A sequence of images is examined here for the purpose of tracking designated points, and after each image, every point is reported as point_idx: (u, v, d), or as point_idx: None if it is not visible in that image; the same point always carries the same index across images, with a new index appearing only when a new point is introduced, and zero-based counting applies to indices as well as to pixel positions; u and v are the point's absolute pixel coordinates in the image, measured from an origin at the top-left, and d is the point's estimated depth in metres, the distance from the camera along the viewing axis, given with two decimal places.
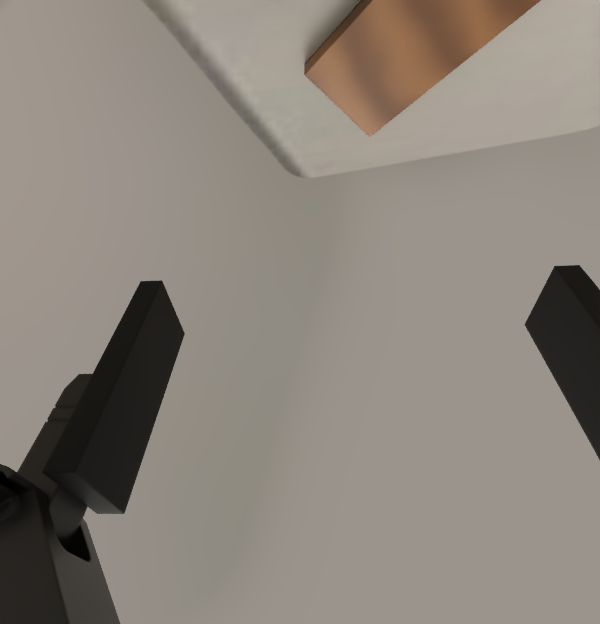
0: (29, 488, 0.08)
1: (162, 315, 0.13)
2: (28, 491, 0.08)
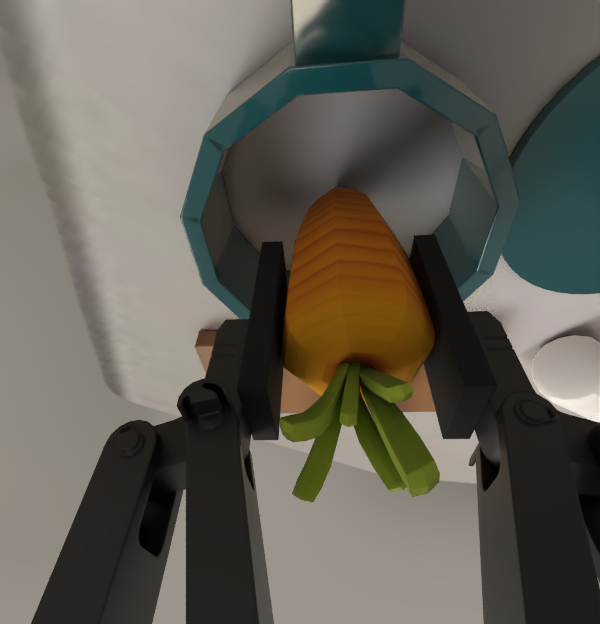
0: (232, 409, 0.09)
1: (283, 273, 0.14)
2: (231, 411, 0.09)
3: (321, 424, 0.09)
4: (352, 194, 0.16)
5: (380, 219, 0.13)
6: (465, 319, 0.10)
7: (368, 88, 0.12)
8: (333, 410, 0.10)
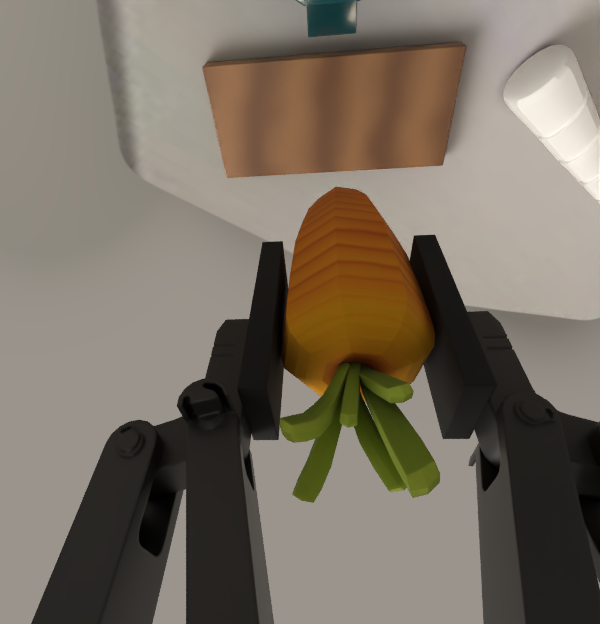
0: (233, 409, 0.09)
1: (283, 273, 0.14)
2: (231, 411, 0.09)
3: (321, 425, 0.09)
4: (352, 194, 0.15)
5: (380, 219, 0.13)
6: (465, 319, 0.10)
7: None
8: (333, 410, 0.10)
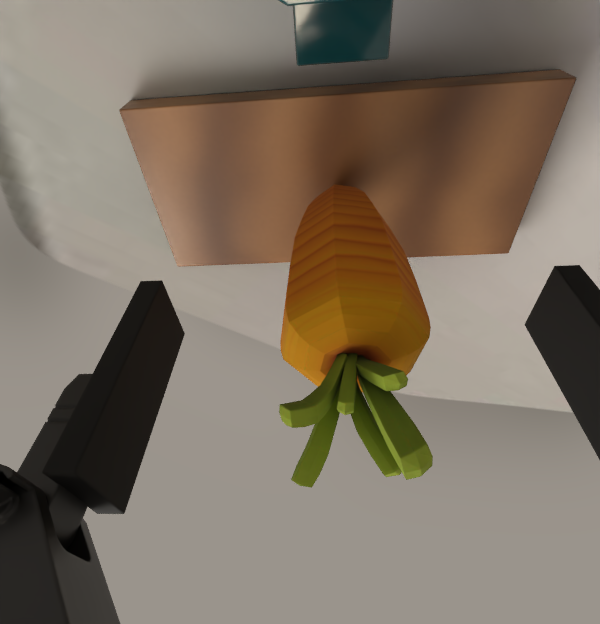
0: (29, 488, 0.08)
1: (162, 315, 0.13)
2: (28, 491, 0.08)
3: (319, 411, 0.09)
4: (350, 191, 0.16)
5: (377, 215, 0.14)
6: None
7: None
8: (331, 399, 0.10)
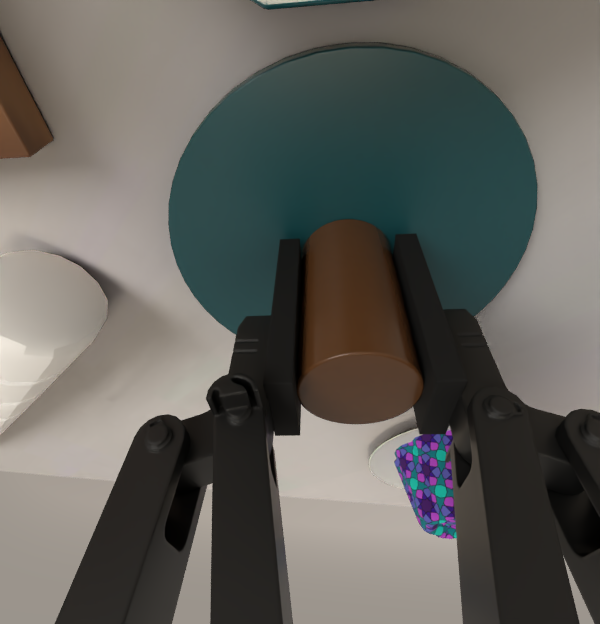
0: (260, 405, 0.09)
1: (300, 270, 0.14)
2: (258, 407, 0.09)
3: None
4: None
5: None
6: (440, 316, 0.11)
7: None
8: None
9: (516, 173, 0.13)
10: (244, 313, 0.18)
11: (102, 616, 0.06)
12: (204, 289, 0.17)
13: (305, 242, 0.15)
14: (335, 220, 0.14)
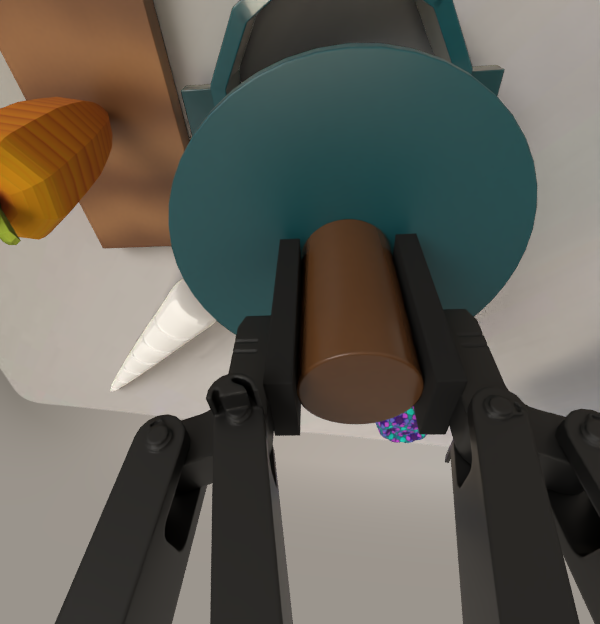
0: (260, 405, 0.09)
1: (300, 270, 0.14)
2: (258, 407, 0.09)
3: None
4: (108, 137, 0.21)
5: (101, 171, 0.20)
6: (440, 316, 0.11)
7: None
8: None
9: (516, 173, 0.13)
10: (244, 313, 0.18)
11: (102, 616, 0.06)
12: (204, 289, 0.17)
13: (305, 242, 0.15)
14: (335, 220, 0.14)
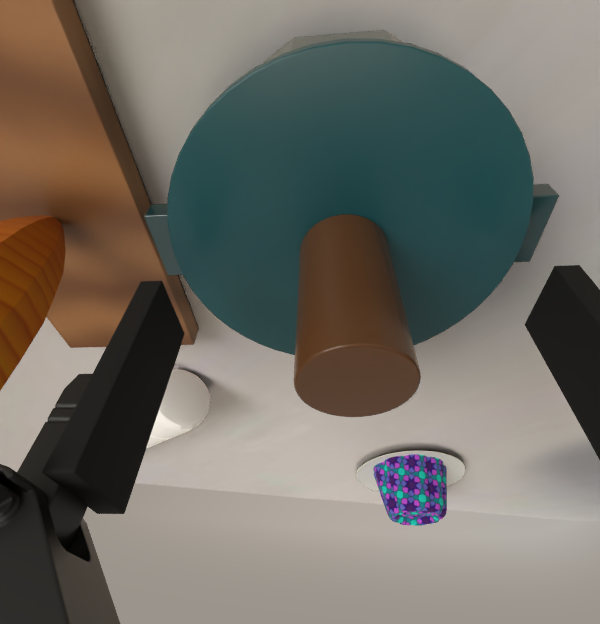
0: (29, 488, 0.08)
1: (162, 315, 0.13)
2: (28, 491, 0.08)
3: None
4: (57, 265, 0.17)
5: (44, 318, 0.16)
6: None
7: None
8: None
9: (512, 168, 0.13)
10: (243, 309, 0.18)
11: None
12: (203, 285, 0.17)
13: (303, 237, 0.15)
14: (333, 215, 0.14)
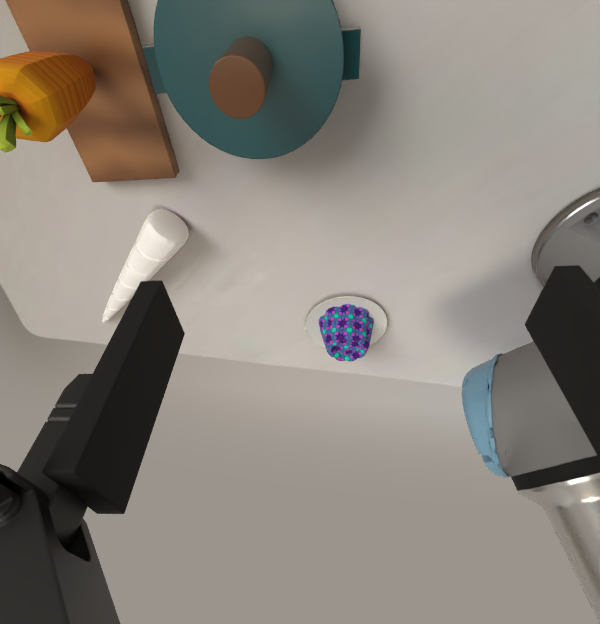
0: (29, 488, 0.08)
1: (162, 315, 0.13)
2: (28, 491, 0.08)
3: None
4: (92, 82, 0.30)
5: (86, 103, 0.28)
6: None
7: None
8: None
9: (324, 4, 0.26)
10: (199, 113, 0.31)
11: None
12: (175, 93, 0.30)
13: None
14: (240, 37, 0.27)
